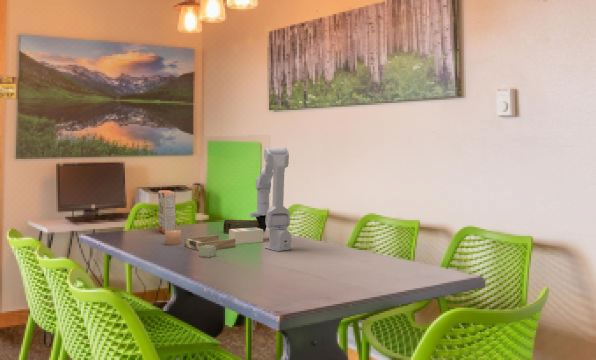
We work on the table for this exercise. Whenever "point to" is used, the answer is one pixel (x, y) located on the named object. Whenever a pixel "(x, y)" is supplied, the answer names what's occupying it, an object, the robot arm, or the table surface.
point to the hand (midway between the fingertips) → (262, 231)
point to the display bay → (209, 242)
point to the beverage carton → (239, 224)
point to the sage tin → (207, 251)
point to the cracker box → (166, 210)
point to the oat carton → (246, 235)
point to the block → (173, 237)
